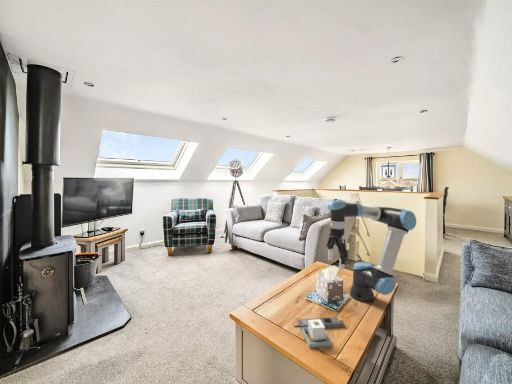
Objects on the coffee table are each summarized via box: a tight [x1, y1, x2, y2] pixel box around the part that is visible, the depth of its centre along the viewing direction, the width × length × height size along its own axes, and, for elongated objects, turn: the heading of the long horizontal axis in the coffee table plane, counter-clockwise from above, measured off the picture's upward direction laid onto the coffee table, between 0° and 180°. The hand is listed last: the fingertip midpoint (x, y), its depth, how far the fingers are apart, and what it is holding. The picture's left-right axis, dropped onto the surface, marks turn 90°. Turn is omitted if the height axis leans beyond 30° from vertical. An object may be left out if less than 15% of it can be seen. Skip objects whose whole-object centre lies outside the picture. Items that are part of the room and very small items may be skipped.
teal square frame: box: [301, 327, 333, 349], centre depth 111 cm, size 11×11×3 cm
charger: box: [308, 319, 326, 342], centre depth 111 cm, size 6×6×8 cm
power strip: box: [293, 316, 345, 331], centre depth 121 cm, size 27×5×4 cm, turn 97°
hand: (335, 264), depth 127 cm, fingers open, 13 cm apart
